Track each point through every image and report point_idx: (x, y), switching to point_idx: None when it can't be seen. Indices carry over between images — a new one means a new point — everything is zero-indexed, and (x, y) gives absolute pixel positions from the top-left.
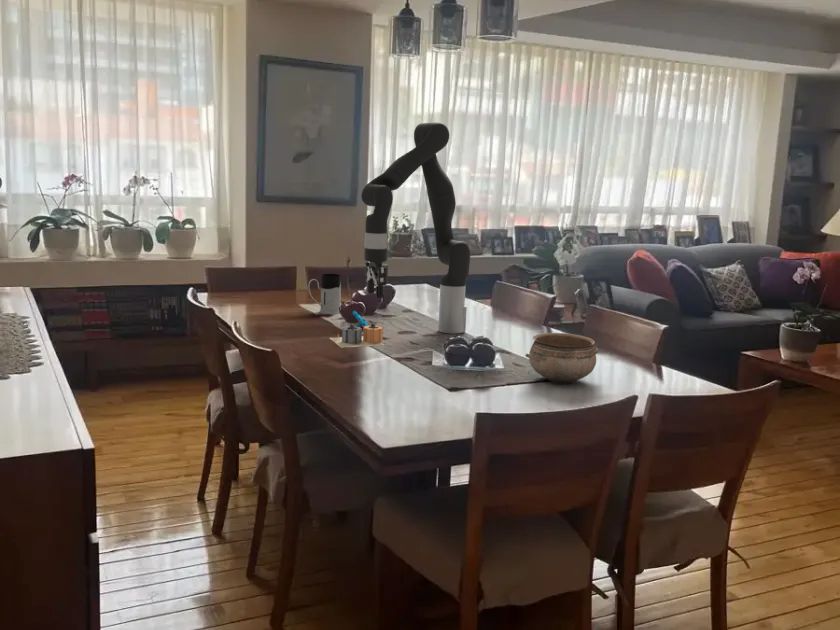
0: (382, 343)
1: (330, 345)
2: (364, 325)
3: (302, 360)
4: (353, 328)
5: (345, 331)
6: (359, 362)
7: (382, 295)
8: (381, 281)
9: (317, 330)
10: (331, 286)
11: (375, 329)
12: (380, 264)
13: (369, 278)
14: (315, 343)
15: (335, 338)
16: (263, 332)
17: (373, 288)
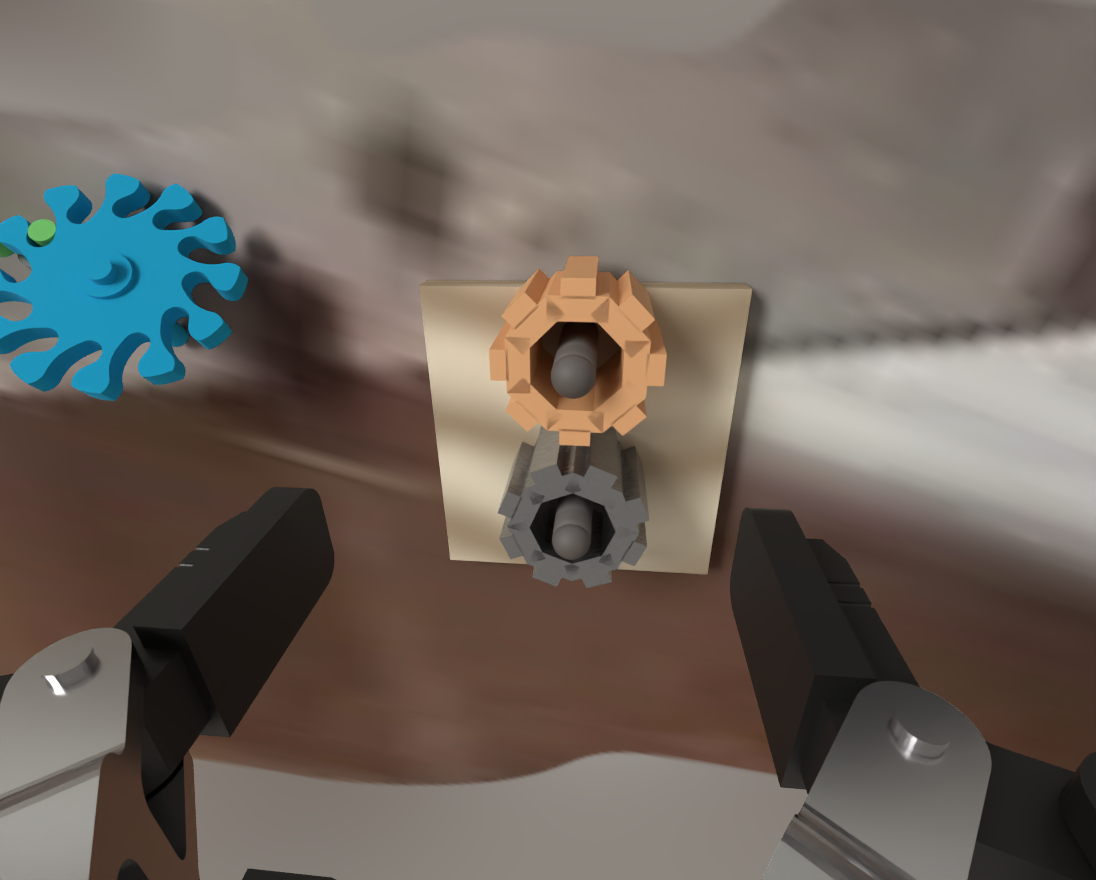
0: (693, 291)
1: None
2: (192, 283)
3: None
4: (590, 528)
5: (609, 573)
6: (999, 550)
7: (796, 530)
8: (866, 843)
9: (172, 523)
10: None
11: (664, 377)
12: None
13: (192, 850)
14: (493, 614)
15: (472, 534)
16: (245, 728)
17: (272, 551)
